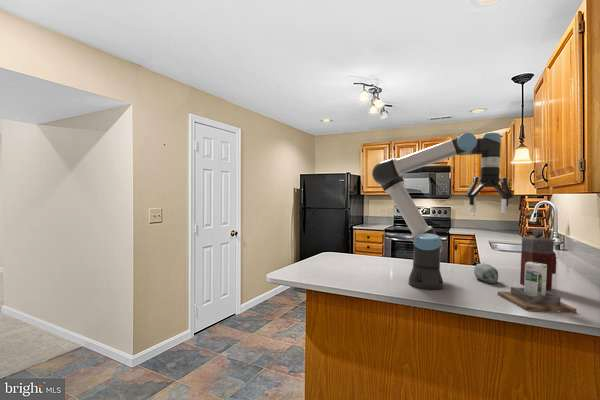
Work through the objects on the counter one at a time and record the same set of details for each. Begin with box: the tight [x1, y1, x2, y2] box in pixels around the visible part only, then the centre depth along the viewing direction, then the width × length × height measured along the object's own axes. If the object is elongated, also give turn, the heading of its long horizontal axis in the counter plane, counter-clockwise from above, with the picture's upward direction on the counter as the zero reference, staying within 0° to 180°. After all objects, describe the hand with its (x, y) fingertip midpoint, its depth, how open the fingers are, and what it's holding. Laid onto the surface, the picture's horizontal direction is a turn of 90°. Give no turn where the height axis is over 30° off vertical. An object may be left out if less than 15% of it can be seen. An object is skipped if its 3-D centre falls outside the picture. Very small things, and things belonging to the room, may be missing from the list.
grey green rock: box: [473, 263, 499, 284], centre depth 156 cm, size 14×10×10 cm
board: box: [497, 286, 577, 314], centre depth 124 cm, size 18×18×4 cm
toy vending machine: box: [519, 227, 557, 291], centre depth 146 cm, size 9×11×28 cm
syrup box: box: [523, 262, 547, 296], centre depth 123 cm, size 6×6×14 cm
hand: (488, 212), depth 144 cm, fingers open, 13 cm apart
